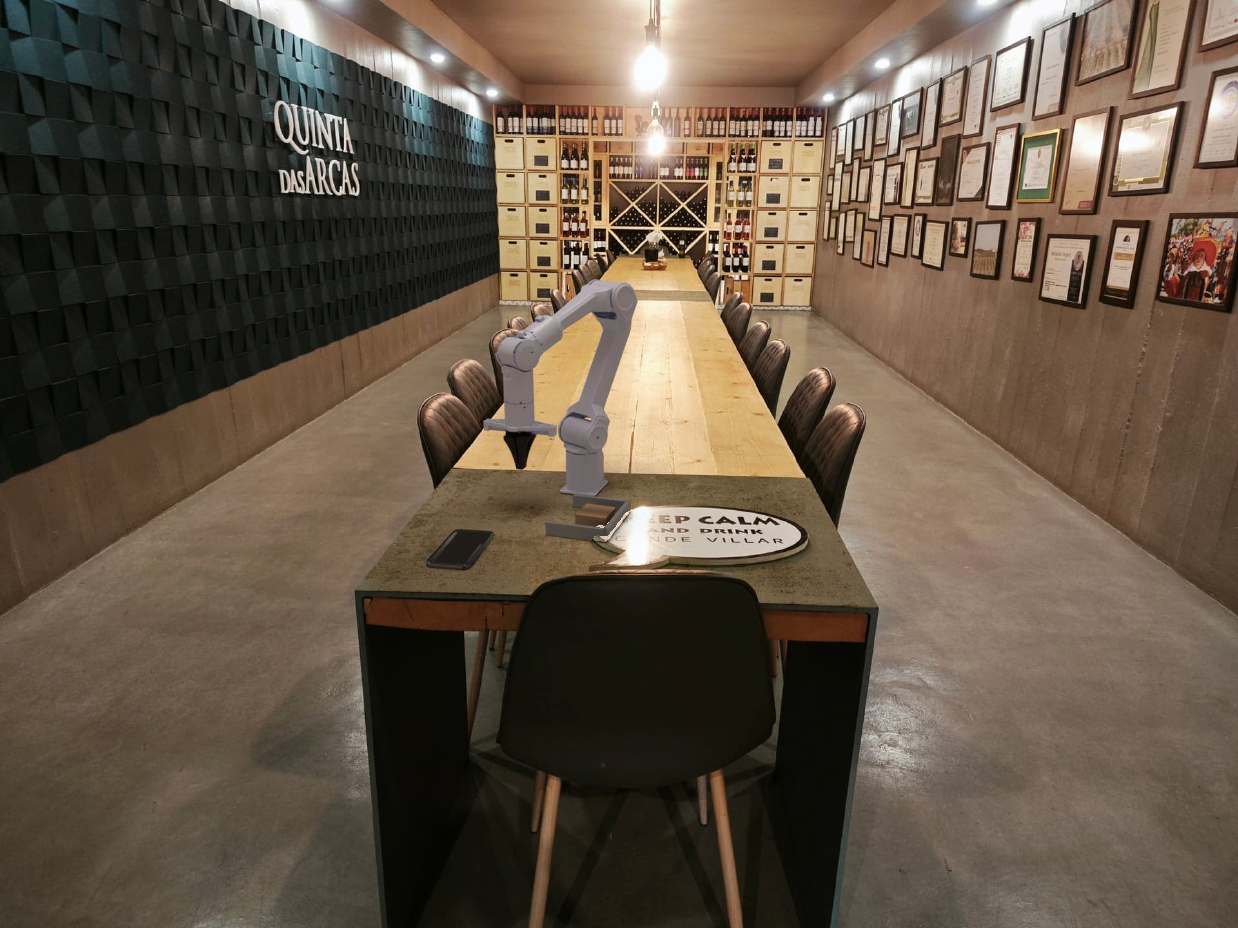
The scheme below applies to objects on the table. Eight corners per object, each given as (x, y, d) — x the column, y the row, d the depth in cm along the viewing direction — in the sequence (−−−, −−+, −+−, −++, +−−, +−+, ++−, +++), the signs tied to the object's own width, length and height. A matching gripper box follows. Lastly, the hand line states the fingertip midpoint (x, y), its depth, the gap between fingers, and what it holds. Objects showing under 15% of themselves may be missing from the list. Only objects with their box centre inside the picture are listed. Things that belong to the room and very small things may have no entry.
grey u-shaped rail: (574, 505, 159) (574, 494, 158) (630, 512, 155) (630, 500, 155) (545, 534, 144) (545, 522, 144) (606, 542, 141) (606, 530, 140)
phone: (424, 563, 131) (455, 528, 145) (424, 569, 131) (455, 534, 145) (469, 566, 130) (496, 531, 144) (469, 572, 130) (496, 536, 144)
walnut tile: (586, 517, 153) (586, 503, 152) (615, 521, 152) (615, 507, 151) (575, 529, 148) (575, 514, 147) (605, 533, 146) (605, 518, 145)
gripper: (475, 402, 149) (478, 470, 153) (546, 408, 145) (548, 478, 149) (491, 394, 155) (494, 459, 159) (560, 400, 151) (561, 466, 155)
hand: (521, 468), depth 155 cm, fingers closed
